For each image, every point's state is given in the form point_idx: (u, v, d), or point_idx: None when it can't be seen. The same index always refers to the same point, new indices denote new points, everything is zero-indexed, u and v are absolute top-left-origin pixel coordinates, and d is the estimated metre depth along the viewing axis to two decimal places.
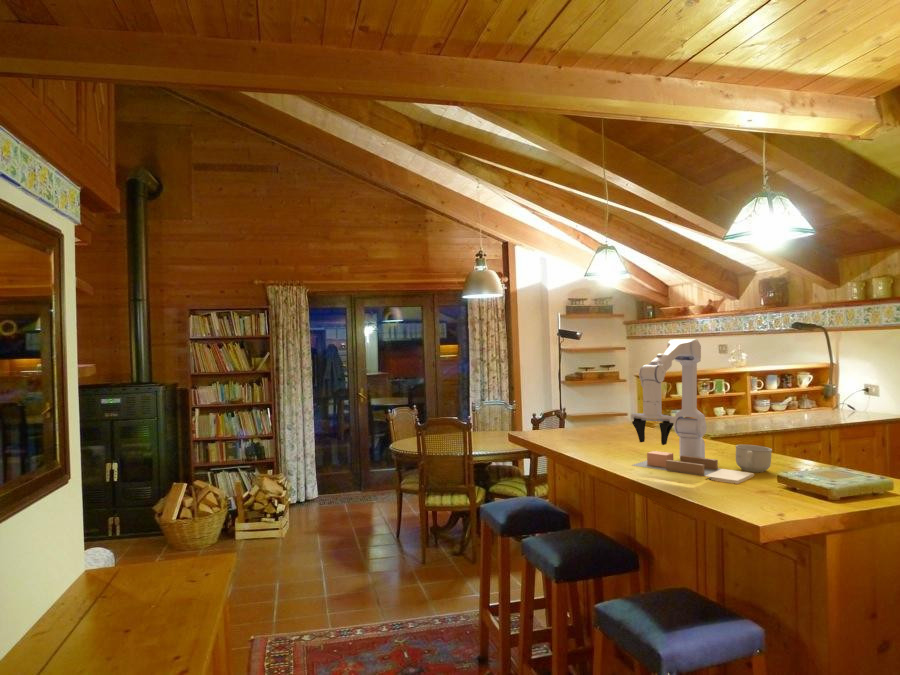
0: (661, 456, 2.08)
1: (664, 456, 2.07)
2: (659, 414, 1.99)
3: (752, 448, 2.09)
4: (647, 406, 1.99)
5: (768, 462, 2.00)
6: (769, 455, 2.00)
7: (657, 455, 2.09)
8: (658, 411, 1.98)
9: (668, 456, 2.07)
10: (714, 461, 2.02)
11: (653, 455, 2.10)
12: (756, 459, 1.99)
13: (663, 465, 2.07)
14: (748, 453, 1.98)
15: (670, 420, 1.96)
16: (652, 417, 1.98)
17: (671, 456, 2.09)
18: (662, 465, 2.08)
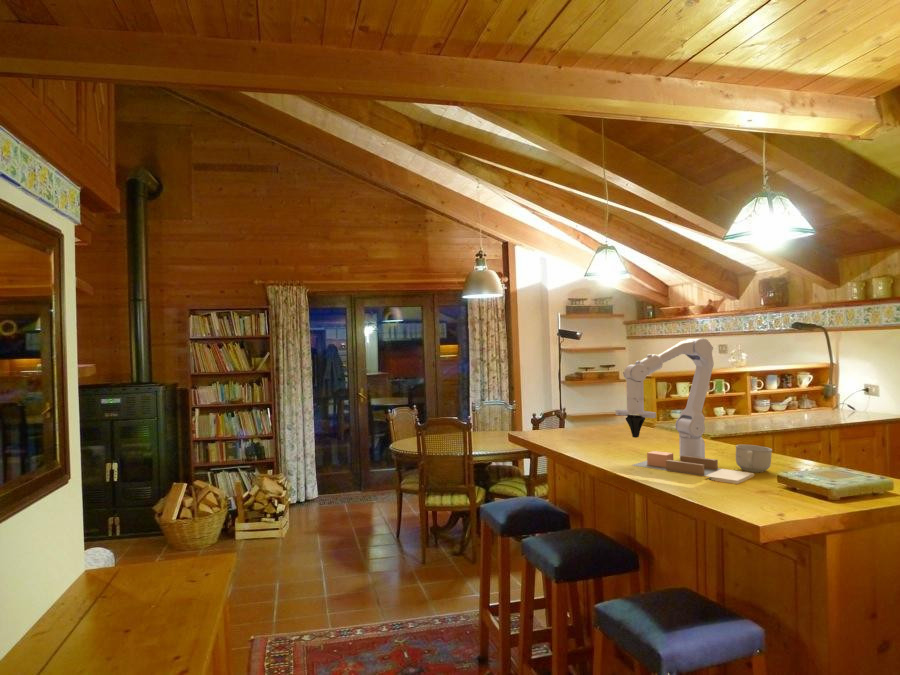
0: (661, 456, 2.08)
1: (664, 456, 2.07)
2: (641, 410, 2.15)
3: (752, 448, 2.09)
4: (630, 403, 2.15)
5: (768, 462, 2.00)
6: (769, 455, 2.00)
7: (657, 455, 2.09)
8: (640, 408, 2.14)
9: (668, 456, 2.07)
10: (714, 461, 2.02)
11: (653, 455, 2.10)
12: (756, 459, 1.99)
13: (663, 465, 2.07)
14: (748, 453, 1.98)
15: (651, 416, 2.12)
16: (635, 413, 2.14)
17: (671, 456, 2.09)
18: (662, 465, 2.08)
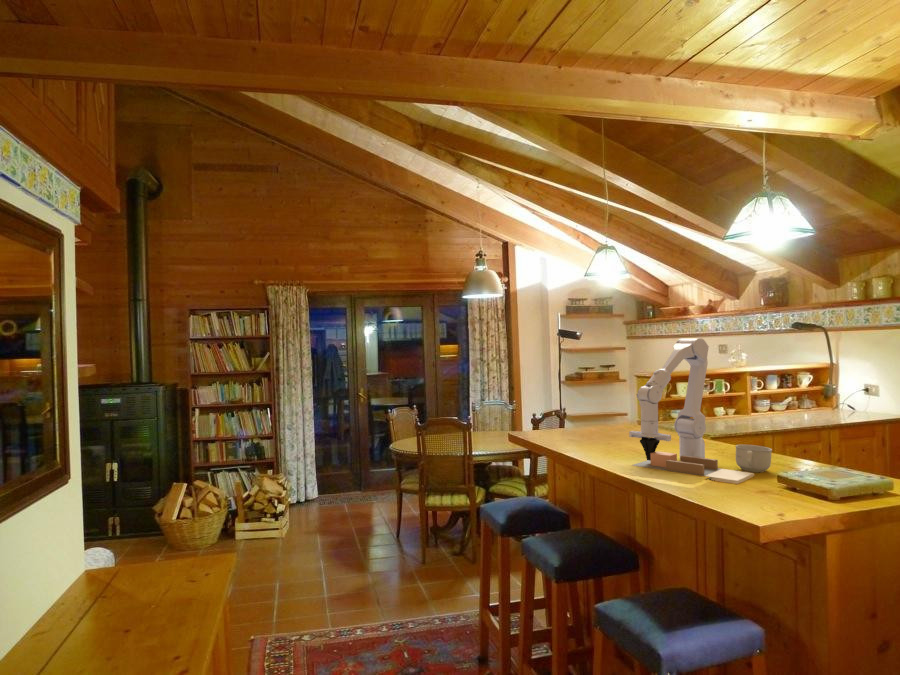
0: (664, 456, 2.07)
1: (667, 456, 2.06)
2: (656, 433, 2.11)
3: (752, 448, 2.09)
4: (645, 425, 2.11)
5: (768, 462, 2.00)
6: (769, 455, 2.00)
7: (660, 455, 2.08)
8: (654, 430, 2.11)
9: (672, 456, 2.07)
10: (714, 461, 2.02)
11: (656, 455, 2.09)
12: (756, 459, 1.99)
13: None
14: (748, 453, 1.98)
15: (666, 438, 2.08)
16: (649, 435, 2.10)
17: (675, 456, 2.08)
18: (665, 466, 2.07)
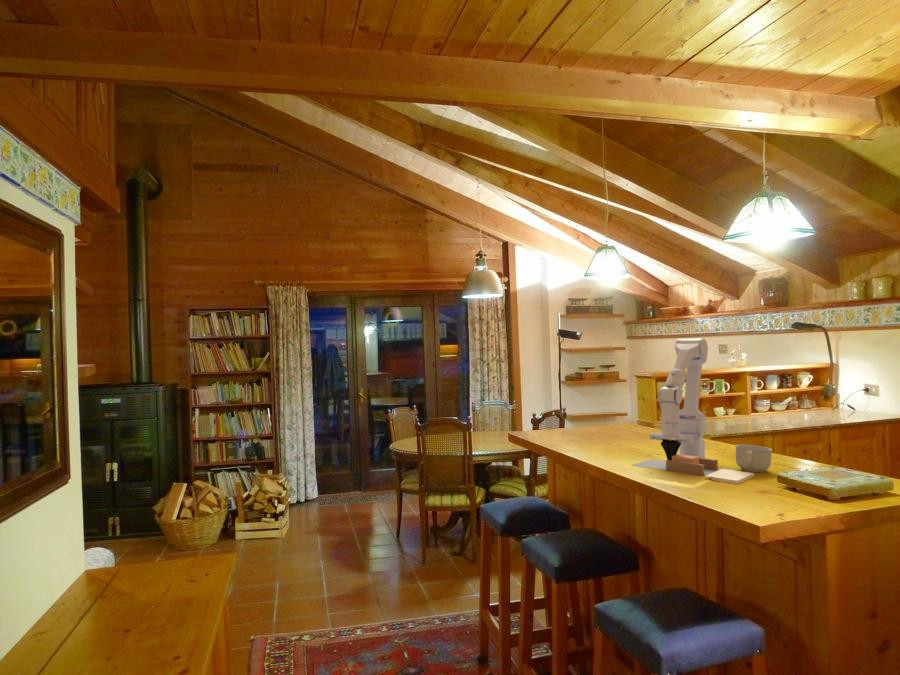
0: (687, 459, 2.01)
1: (690, 459, 2.01)
2: (677, 435, 2.06)
3: (752, 448, 2.09)
4: (666, 427, 2.06)
5: (768, 462, 2.00)
6: (769, 455, 2.00)
7: (682, 458, 2.02)
8: (676, 432, 2.05)
9: (694, 459, 2.01)
10: (714, 461, 2.02)
11: (678, 458, 2.03)
12: (756, 459, 1.99)
13: None
14: (748, 453, 1.98)
15: (688, 441, 2.03)
16: (671, 438, 2.05)
17: (697, 459, 2.03)
18: None
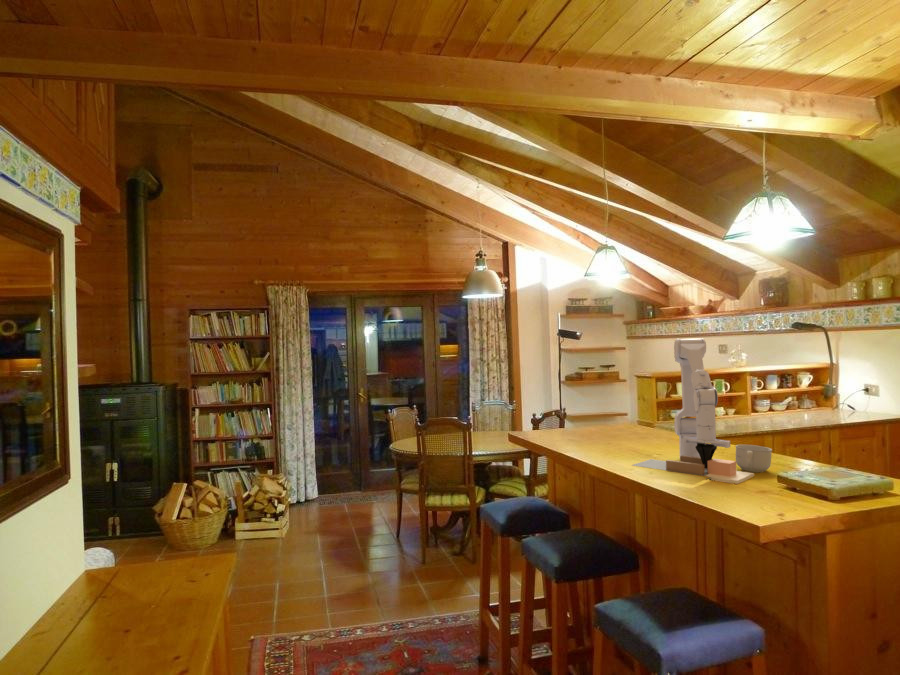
0: (724, 464, 1.93)
1: (727, 464, 1.92)
2: (713, 438, 1.97)
3: (752, 448, 2.09)
4: (702, 430, 1.98)
5: (768, 462, 2.00)
6: (769, 455, 2.00)
7: (719, 463, 1.94)
8: (712, 436, 1.97)
9: (731, 464, 1.92)
10: None
11: (714, 463, 1.95)
12: (756, 459, 1.99)
13: (726, 474, 1.92)
14: (748, 453, 1.98)
15: (725, 445, 1.94)
16: (706, 441, 1.97)
17: (734, 464, 1.94)
18: (725, 474, 1.93)
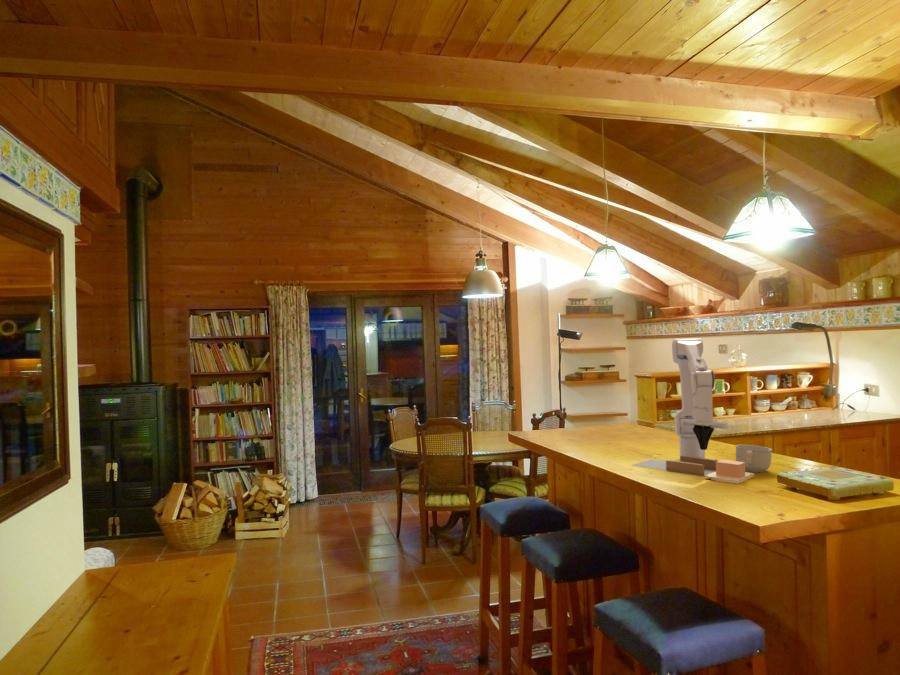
0: (732, 465, 1.91)
1: (736, 466, 1.90)
2: (710, 420, 1.98)
3: (752, 448, 2.09)
4: (699, 412, 1.98)
5: (768, 462, 2.00)
6: (769, 455, 2.00)
7: (728, 464, 1.92)
8: (709, 417, 1.97)
9: (740, 466, 1.91)
10: (714, 461, 2.02)
11: (723, 464, 1.93)
12: (756, 459, 1.99)
13: (735, 475, 1.90)
14: (748, 453, 1.98)
15: (722, 426, 1.95)
16: (704, 423, 1.97)
17: (743, 465, 1.92)
18: (734, 475, 1.91)
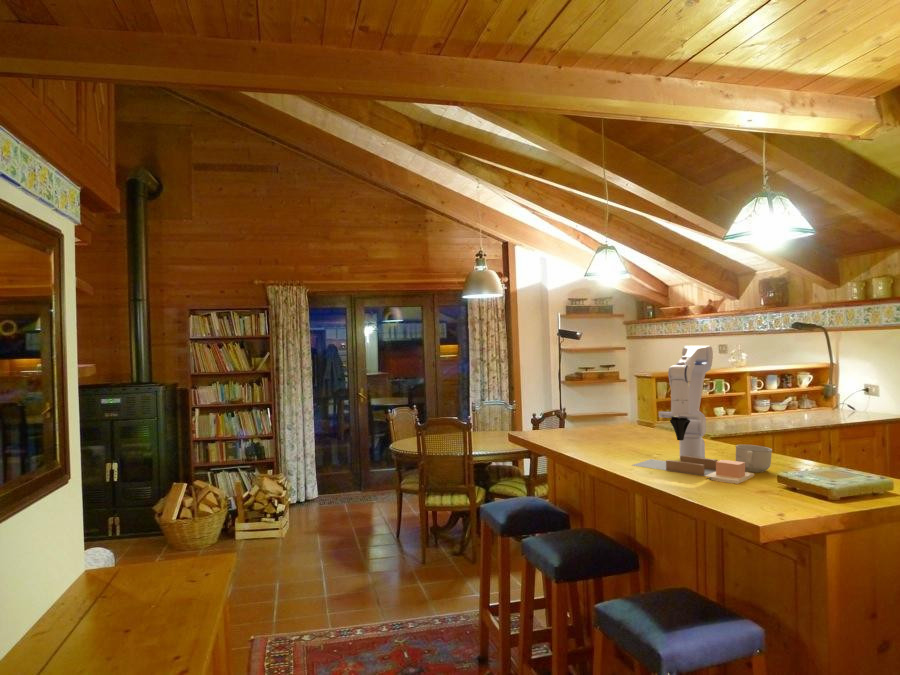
0: (732, 465, 1.91)
1: (736, 466, 1.90)
2: (687, 412, 2.08)
3: (752, 448, 2.09)
4: (675, 404, 2.09)
5: (768, 462, 2.00)
6: (769, 455, 2.00)
7: (728, 464, 1.92)
8: (685, 409, 2.08)
9: (740, 466, 1.91)
10: (714, 461, 2.02)
11: (723, 464, 1.93)
12: (756, 459, 1.99)
13: (735, 475, 1.90)
14: (748, 453, 1.98)
15: (697, 418, 2.05)
16: (680, 415, 2.08)
17: (743, 465, 1.92)
18: (734, 475, 1.91)
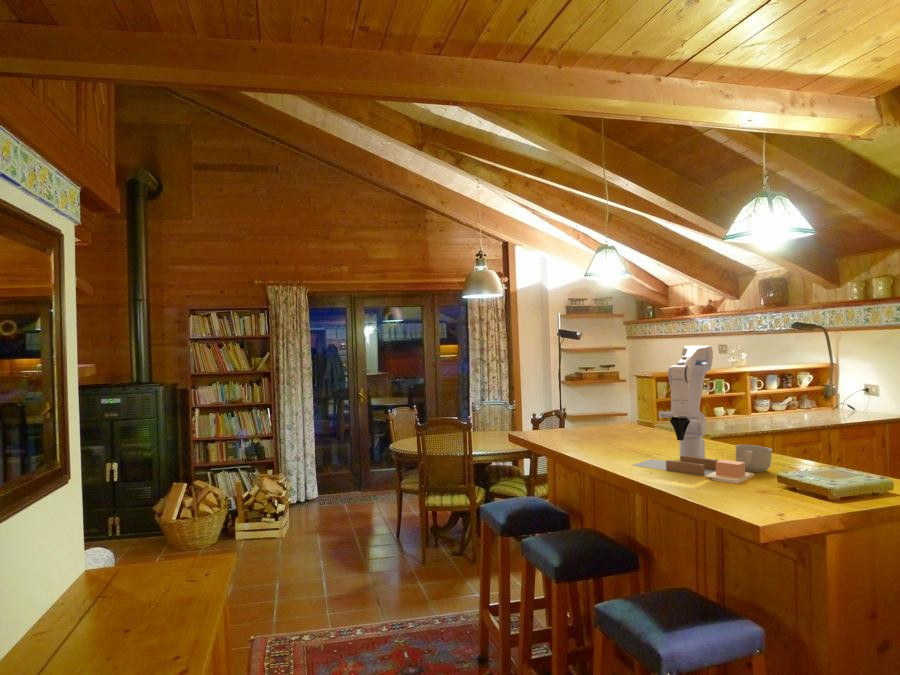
0: (732, 465, 1.91)
1: (736, 466, 1.90)
2: (687, 412, 2.08)
3: (752, 448, 2.09)
4: (675, 404, 2.09)
5: (768, 462, 2.00)
6: (769, 455, 2.00)
7: (728, 464, 1.92)
8: (685, 409, 2.08)
9: (740, 466, 1.91)
10: (714, 461, 2.02)
11: (723, 464, 1.93)
12: (756, 459, 1.99)
13: (735, 475, 1.90)
14: (748, 453, 1.98)
15: (697, 418, 2.05)
16: (680, 415, 2.08)
17: (743, 465, 1.92)
18: (734, 475, 1.91)
